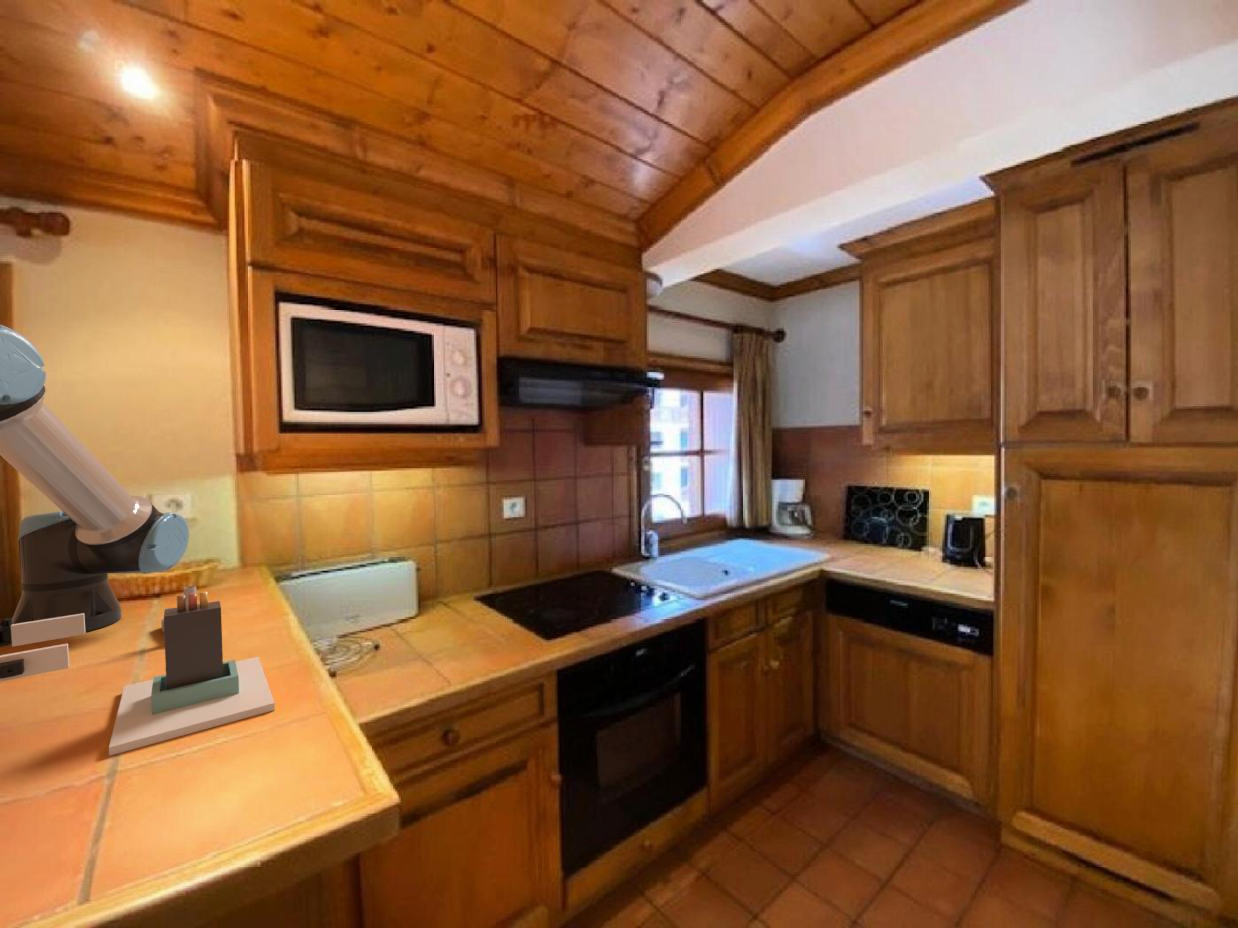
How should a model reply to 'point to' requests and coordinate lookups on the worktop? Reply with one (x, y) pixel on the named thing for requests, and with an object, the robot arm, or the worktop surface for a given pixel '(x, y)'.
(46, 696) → the worktop surface
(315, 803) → the worktop surface
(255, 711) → the header board
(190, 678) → the block
